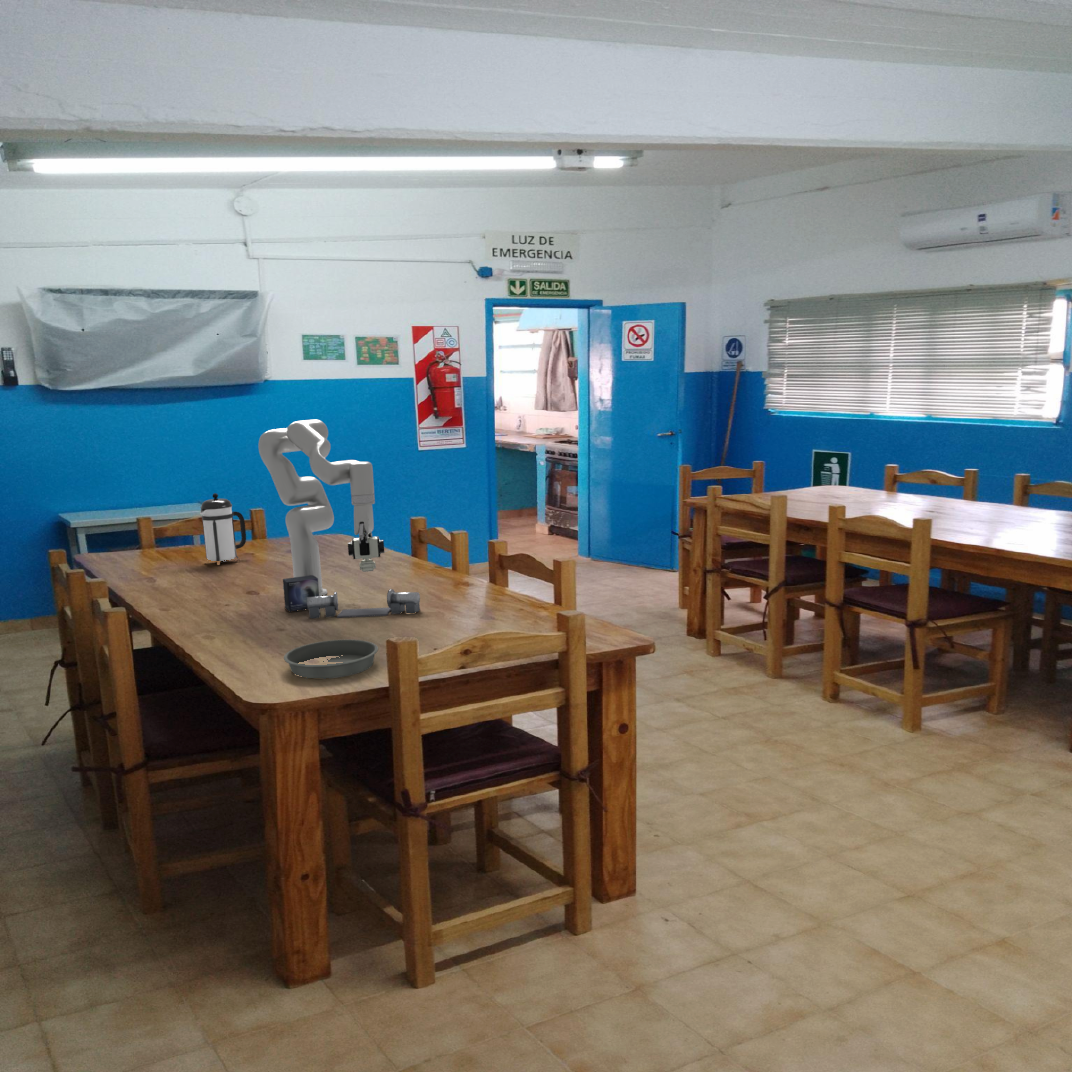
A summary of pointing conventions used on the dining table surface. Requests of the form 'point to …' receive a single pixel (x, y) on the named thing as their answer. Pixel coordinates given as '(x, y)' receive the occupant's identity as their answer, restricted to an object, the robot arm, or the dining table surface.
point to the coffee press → (220, 529)
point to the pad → (364, 612)
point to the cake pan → (354, 658)
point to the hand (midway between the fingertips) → (366, 552)
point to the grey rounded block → (403, 601)
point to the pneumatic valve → (375, 551)
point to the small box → (299, 591)
